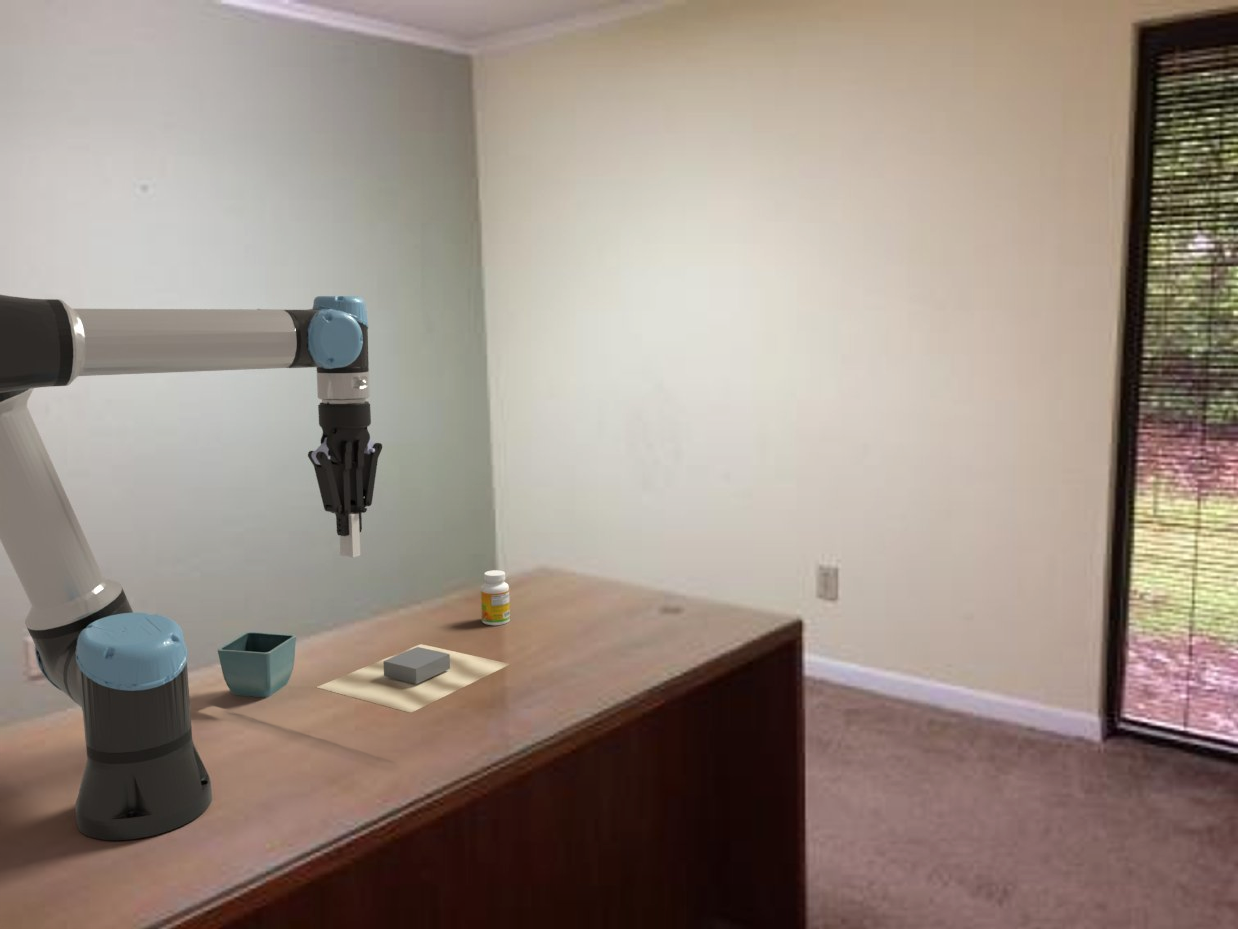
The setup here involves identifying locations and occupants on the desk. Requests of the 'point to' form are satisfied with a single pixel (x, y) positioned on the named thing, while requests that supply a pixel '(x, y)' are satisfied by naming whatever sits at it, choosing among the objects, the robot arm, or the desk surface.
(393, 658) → the tile
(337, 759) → the desk surface
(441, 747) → the desk surface
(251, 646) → the flower pot
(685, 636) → the desk surface
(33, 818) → the desk surface
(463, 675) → the board
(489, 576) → the supplement bottle
